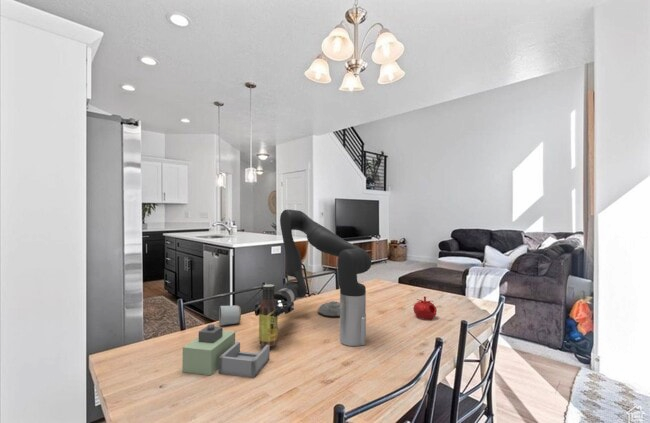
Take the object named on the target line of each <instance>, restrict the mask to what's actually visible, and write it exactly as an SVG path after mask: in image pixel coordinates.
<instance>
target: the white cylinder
mask: <svg viewBox="0 0 650 423" xmlns="http://www.w3.org/2000/svg"><path fill="white" fill-rule="evenodd" d="M241 317H242V309H241V306H239V305H235V304H234V305H220V306H219V310H218V324H219V327H223V326H228V325H236V324H239V323H240V321H241V320H242V319H241Z"/></svg>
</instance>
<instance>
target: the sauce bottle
mask: <svg viewBox="0 0 650 423" xmlns="http://www.w3.org/2000/svg"><path fill="white" fill-rule="evenodd" d="M274 294H275V284H270V283H269V284H263V285H262V300H261V301H262V302H261V304H260V313H259V315H258V319H259V320H258V332H259V333H258V340H259V345H260V346H261V347H265V346H266V345H270V347H272V346H275V345H276V344H277V342H278V325H279V324H278V319H279V318H278V317H279V316H277V317H274V311H275V310H276V309H277V305H276V302H275V299H274Z"/></svg>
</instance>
